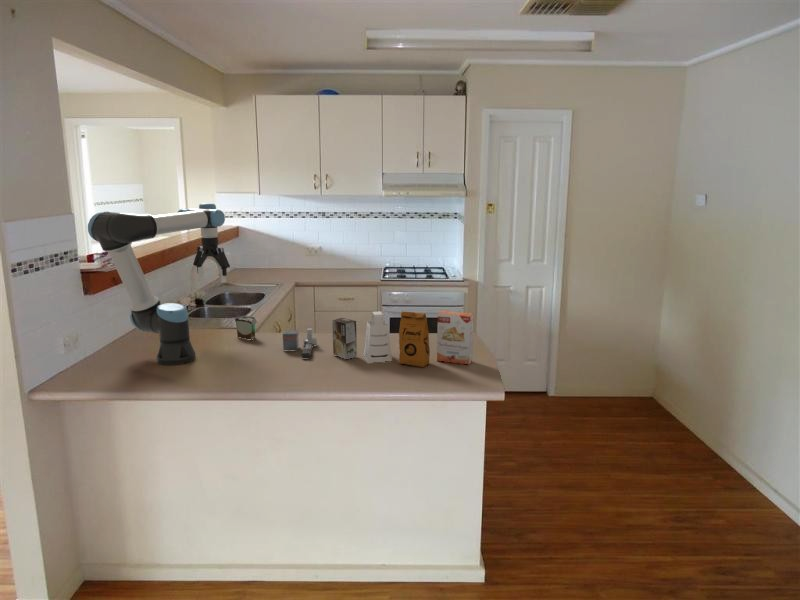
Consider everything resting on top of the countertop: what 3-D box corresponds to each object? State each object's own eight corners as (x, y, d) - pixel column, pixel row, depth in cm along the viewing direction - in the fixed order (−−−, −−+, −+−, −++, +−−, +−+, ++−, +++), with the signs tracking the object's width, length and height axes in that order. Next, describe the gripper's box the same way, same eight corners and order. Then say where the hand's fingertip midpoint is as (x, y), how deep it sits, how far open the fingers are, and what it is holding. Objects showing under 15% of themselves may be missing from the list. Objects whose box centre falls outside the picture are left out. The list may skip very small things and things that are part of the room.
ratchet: (313, 358, 237) (312, 340, 235) (298, 359, 237) (298, 341, 235) (317, 343, 259) (316, 327, 257) (304, 344, 258) (303, 327, 257)
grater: (367, 363, 231) (366, 316, 227) (363, 355, 241) (363, 310, 237) (392, 361, 233) (392, 315, 229) (387, 354, 243) (387, 309, 239)
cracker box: (436, 361, 233) (437, 313, 229) (440, 357, 238) (441, 310, 234) (469, 365, 228) (470, 316, 224) (472, 361, 233) (474, 312, 229)
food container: (263, 338, 268) (262, 318, 266) (253, 341, 263) (252, 320, 261) (245, 334, 275) (244, 314, 273) (235, 337, 270) (234, 317, 268)
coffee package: (423, 369, 223) (423, 316, 219) (395, 365, 229) (395, 313, 224) (433, 362, 232) (433, 311, 227) (406, 358, 237) (406, 308, 233)
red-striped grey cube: (297, 351, 248) (296, 333, 246) (283, 351, 247) (282, 334, 245) (298, 347, 254) (298, 330, 252) (285, 347, 253) (284, 330, 252)
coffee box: (357, 357, 239) (357, 320, 236) (346, 360, 235) (345, 323, 231) (343, 352, 246) (342, 317, 242) (332, 355, 241) (331, 319, 238)
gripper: (236, 237, 260) (238, 282, 264) (195, 235, 270) (198, 278, 274) (225, 238, 253) (227, 284, 257) (183, 236, 263) (186, 280, 267)
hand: (212, 281), depth 266 cm, fingers open, 13 cm apart
